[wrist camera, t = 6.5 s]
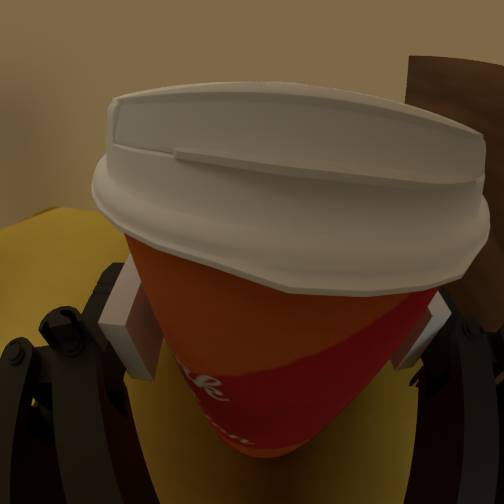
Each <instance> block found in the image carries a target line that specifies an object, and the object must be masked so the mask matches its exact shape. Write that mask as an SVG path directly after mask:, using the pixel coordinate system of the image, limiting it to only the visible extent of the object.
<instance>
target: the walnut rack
mask: <svg viewBox="0 0 504 504" xmlns="http://www.w3.org/2000/svg"><path fill="white" fill-rule="evenodd" d="M405 104H407V105H411V106H414V107H417V108H420V109H423V110H426V111H429V112H432V113H435V114H438V115H441V116H443V117H446V118H448V119H451V120H453V121H456V122H458V123H460V124H463V125H465V126H467V127H469V128H471V129H473V130H475V131H477V132H479V133H481V134H483V139H484V141H485V144H486V158H485V180H484V186H483V191H482V194H483V196H484V198H485V200H486V201H487V204H488V208H489V212H490V220H489V221H490V231H489V236H488V240H487V242H486V244H485V245H484V246H483V248H482V249H481V250H480V252H479V253H478V254H477V256H476V257H475V259H474V260H473V262H472V263H471V265H470V266H469V268H468V269H467V271H466V272H465V273H464V275H463V276H462V278H460V279H458V280H455V281H452V282H449V283H446V284H443V286H444V288H445V289H446V290H447V292H448V293H449V295H450V297H451V298H452V300H453V301H454V303H455V305H456V306H457V308H458V309H459V311H460V313H461V314H462V316H469V317H471V318H474V319H475V320H476V321H478V322H479V323H480V324H481V326H482V327H483V328H484V331H488V332H495V333H496V332H497V331H498V330H499V328H500V327H501V326H502V324H504V66H501V65H497V64H492V63H486V62H480V61H474V60H466V59H458V58H448V57H434V56H409V63H408V76H407V88H406V96H405ZM503 379H504V372H502V373H501V374H500V375H499V376H498V377H497V378H496V379H495V384H497V385H498V384H499V383H500V382H501V381H502V380H503Z"/></svg>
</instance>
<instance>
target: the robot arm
mask: <svg viewBox="0 0 504 504" xmlns="http://www.w3.org/2000/svg"><path fill="white" fill-rule="evenodd" d="M38 330H39V332H40V333H41V335H42V336H43V337H44V339H45V340H46V342H47V343H48V344H49V345H48V346H42V347H34V346H33V345H32V344H31V342H30V341H29V340H28V339H27V338H24V337H19V338H15V339H14V340H12V341H10V342H9V343H8V345H7V346H6V347H5V349H4V351H3V353H2V355H1V358H0V504H160V502H159V500H158V497H157V495H156V492H155V489H154V487H153V484H152V481H151V478H150V475H149V472H148V469H147V466H146V463H145V460H144V456H143V453H142V450H141V446H140V443H139V439H138V435H137V431H136V427H135V423H134V419H133V415H132V411H131V406H130V401H129V396H128V391H127V387H126V385H125V383H124V381H123V378H124V374H125V370H126V371H127V372H128V374H129V375H130V377H131V378H132V379H139V380H148V381H154V379H155V374H156V368H157V363H158V358H159V354H160V349H161V344H162V340H163V333H162V330H161V328H160V326H159V324H158V321H157V319H156V317H155V314H154V312H153V310H152V307H151V305H150V302H149V300H148V298H147V295H146V293H145V290H144V287H143V285H142V282H141V280H140V277H139V274H138V272H137V269H136V266H135V263H134V261H133V258H132V255H131V252H130V254H129V256H128V258H127V260H126V262H125V263H112V264H111V265H110V266H109V267H108V268H107V269H106V270H105V271H104V272H103V273H102V275H101V277H100V278H99V280H98V282H97V285H96V286H95V288H94V290H93V294H91V296H90V298H89V300H88V302H87V304H86V306H85V308H84V310H83V312H82V314H80V312H79V311H78V310H77V309H76V308H74V307H71V306H61V307H59V308H56V309H54V310H52V311H51V312H49V313H48V314H47V315H46V316H45V317H44V319H43V320H42V321H41V323H40V326H39V329H38ZM420 357H421V359H422V361H423V364H424V365H423V366H422V367H421V369H420V370H419V371H418V372H417V373H416V374H415V376H414V377H413V378H412V379H411V380H410V384H409V386H412V385H413V384H414V383H415V382H416V381H417V380H418V379H419V382H418V383H417V384H416V386H415V387H419V390H418V411H417V424H416V435H415V443H414V451H413V458H412V464H411V470H410V476H409V481H408V486H407V490H406V495H405V499H404V503H403V504H504V379H503V380H502V381H501V382H500V383H499V384H498V385H497V384H495V379H496V378H497V377H498V376H499V375H500V374H501V373H502V372H504V324H502V326H501V327H500V328H499V330H498V331H497V332H496V333H495V332H488V331H484V328H483V327H482V326H481V324H480V323H479V322H478V321H476V320H475V319H474V318H471V317H469V316H462V314H461V313H460V311H459V309H458V308H457V306H456V305H455V303H454V301H453V300H452V298H451V297H450V295H449V293H448V292H447V290H446V289H445V288H444V286H443V285H441V286H440V288H439V289H438V291H437V293H436V294H435V296H434V298H433V299H432V301H431V302H430V304H429V305H428V307H427V308H426V310H425V311H424V313H423V314H422V316H421V317H420V319H419V320H418V322H417V323H416V324H415V326H414V327H413V329H412V330H411V331H410V333H409V334H408V335H407V337H406V338H405V340H404V341H403V342H402V343H401V345H400V346H399V347H398V349H397V350H396V351H395V352H394V354H393V355H392V356H391V357H390V359H391V362H392V365H393V367H394V370H395V371H396V370H401V369H406V368H410V367H413V366H414V365H415V363H416V362H417V361H418V360H419V358H420ZM33 398H34V399H35V403H34V405H33V406H31V404H32V399H33Z"/></svg>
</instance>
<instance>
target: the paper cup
mask: <svg viewBox="0 0 504 504" xmlns="http://www.w3.org/2000/svg"><path fill="white" fill-rule="evenodd" d="M485 158H486V144H485V141H484V139H483V134H481V133H479V132H477V131H475V130H473V129H471V128H469V127H467V126H465V125H463V124H460V123H458V122H456V121H453V120H451V119H448V118H446V117H443V116H441V115H438V114H435V113H432V112H429V111H426V110H423V109H420V108H417V107H414V106H411V105H407V104H404V103H400V102H397V101H393V100H389V99H385V98H380V97H376V96H372V95H367V94H363V93H358V92H352V91H346V90H341V89H334V88H327V87H319V86H310V85H306V84H302V83H289V82H274V81H267V82H214V83H199V84H188V85H178V86H170V87H163V88H156V89H150V90H145V91H139V92H135V93H130V94H126V95H122V96H119V97H115V98H113V99H112V103H111V104H110V105H109V107H108V110H107V122H106V154H105V155H104V156H103V157H102V158H101V159H100V160H99V162H98V164H97V166H96V169H95V171H94V178H93V180H92V197H93V200H94V202H95V204H96V205H97V207H98V209H99V211H100V213H101V214H102V215H103V216H104V217H105V218H106V219H107V220H108V221H110V222H111V223H112V224H113V225H114V226H115V227H116V228H118V229H119V230H120V231H121V232H123V233H124V234H125V237H126V240H127V243H128V246H129V249H130V252H131V255H132V258H133V261H134V263H135V266H136V269H137V272H138V274H139V277H140V280H141V282H142V285H143V287H144V290H145V293H146V295H147V298H148V300H149V302H150V305H151V307H152V310H153V312H154V314H155V317H156V319H157V321H158V324H159V326H160V328H161V330H162V333H163V335H164V337H165V339H166V341H167V344H168V346H169V348H170V350H171V352H172V354H173V356H174V358H175V360H176V362H177V364H178V366H179V368H180V370H181V372H182V374H183V376H184V378H185V380H186V382H187V384H188V386H189V388H190V389H191V391H192V393H193V395H194V397H195V398H196V400H197V402H198V404H199V405H200V407H201V409H202V411H203V412H204V414H205V416H206V417H207V419H208V421H209V422H210V424H211V425H212V427H213V428H214V430H215V431H216V433H217V434H218V435H219V437H220V438H221V439H222V440H223V441H224V442H225V443H226V444H227V445H228V446H230V447H231V448H233V449H234V450H236V451H238V452H240V453H242V454H245V455H248V456H251V457H257V458H273V457H279V456H283V455H286V454H288V453H291V452H293V451H294V450H296V449H298V448H300V447H301V446H302V445H304V444H305V443H307V442H308V441H309V440H310V439H312V438H313V437H314V436H315V435H316V434H317V433H319V432H320V431H321V430H322V429H323V428H324V427H325V426H327V425H328V424H329V423H330V422H331V421H332V420H333V419H334V418H335V417H336V416H337V415H338V414H339V413H340V412H341V411H342V410H344V409H345V408H346V407H347V406H348V405H349V404H350V403H351V401H352V400H353V399H354V398H355V397H356V396H357V395H358V394H359V393H360V392H361V391H362V390H363V389H364V388H365V387H366V386H367V384H368V383H369V382H370V381H371V380H372V379H373V378H374V377H375V375H376V374H377V373H378V372H379V371H380V370H381V368H382V367H383V366H384V365H385V364H386V362H387V361H388V360H389V359H390V357H391V356H392V355H393V354H394V352H395V351H396V350H397V349H398V347H399V346H400V345H401V343H402V342H403V341H404V340H405V338H406V337H407V335H408V334H409V333H410V331H411V330H412V329H413V327H414V326H415V324H416V323H417V322H418V320H419V319H420V317H421V316H422V314H423V313H424V311H425V310H426V308H427V307H428V305H429V304H430V302H431V301H432V299H433V298H434V296H435V294H436V293H437V291H438V289H439V288H440V286H441V285H443V284H446V283H449V282H452V281H455V280H458V279H460V278H462V276H463V275H464V273H465V272H466V271H467V269H468V268H469V266H470V265H471V263H472V262H473V260H474V259H475V257H476V256H477V254H478V253H479V252H480V250H481V249H482V248H483V246H484V245H485V244H486V242H487V240H488V236H489V231H490V221H489V220H490V212H489V208H488V204H487V201H486V200H485V198H484V196H483V194H482V191H483V186H484V180H485Z"/></svg>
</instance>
